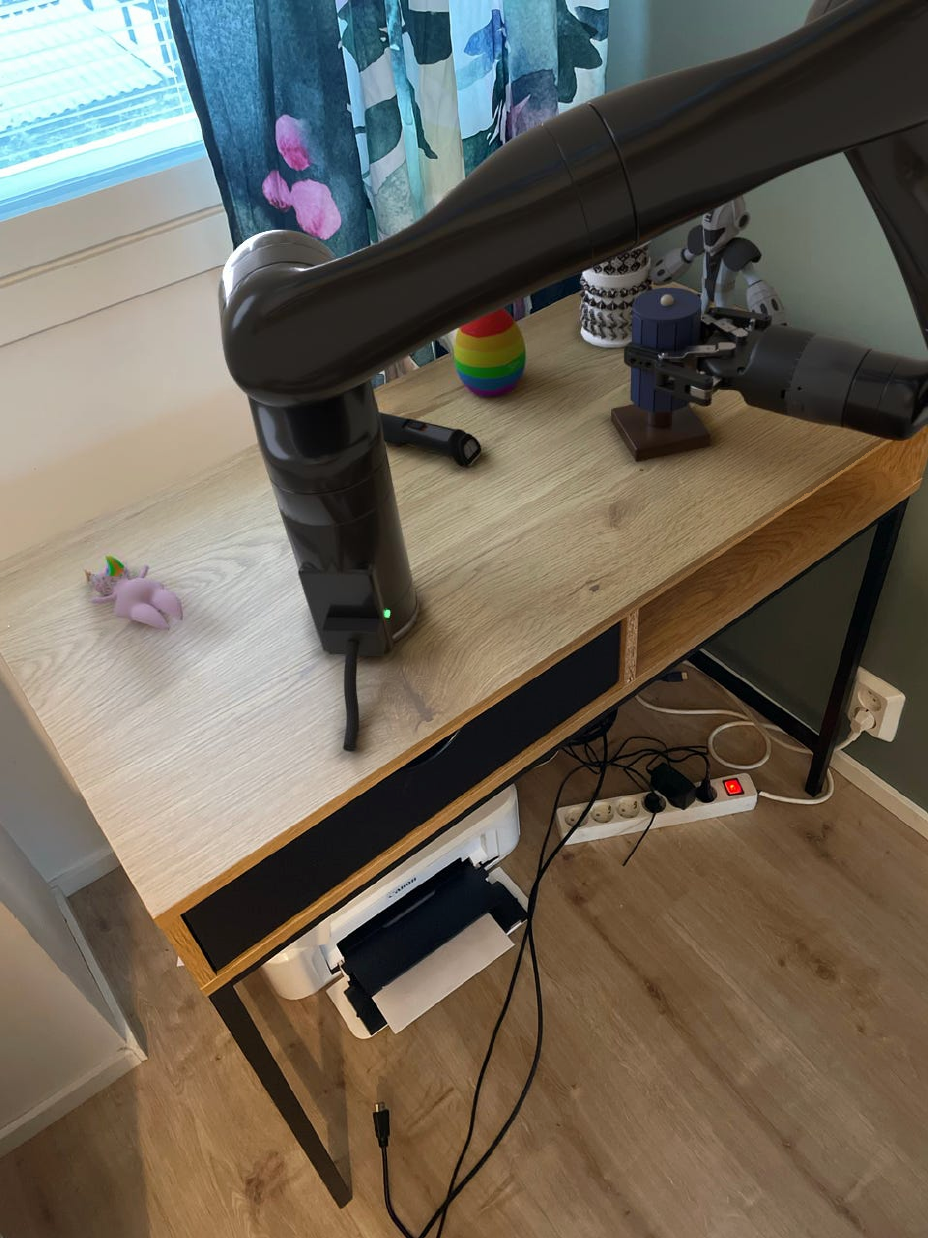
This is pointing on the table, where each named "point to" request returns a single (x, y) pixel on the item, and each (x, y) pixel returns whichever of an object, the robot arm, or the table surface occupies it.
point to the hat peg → (659, 431)
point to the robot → (722, 263)
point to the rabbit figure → (135, 595)
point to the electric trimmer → (431, 438)
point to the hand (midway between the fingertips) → (643, 336)
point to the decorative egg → (490, 354)
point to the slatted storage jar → (663, 339)
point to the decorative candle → (613, 297)
